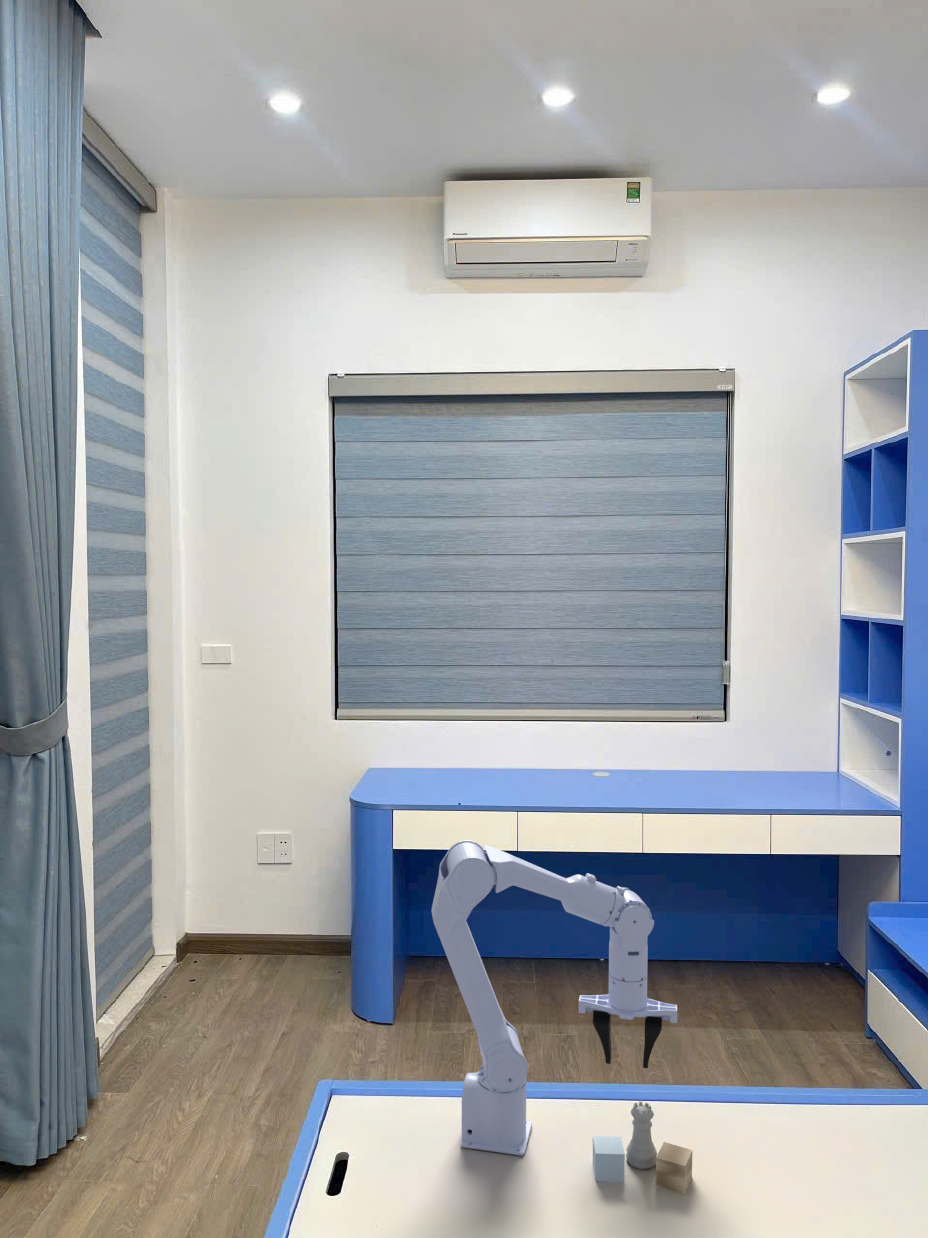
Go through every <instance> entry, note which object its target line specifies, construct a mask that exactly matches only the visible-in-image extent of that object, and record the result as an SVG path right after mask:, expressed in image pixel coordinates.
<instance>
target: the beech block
mask: <svg viewBox="0 0 928 1238" xmlns="http://www.w3.org/2000/svg"><path fill="white" fill-rule="evenodd" d="M692 1178H693V1149H691V1148H690V1149H689V1148H687V1147H684V1146H681V1145H676V1144H673V1143H670V1142H666V1141H663V1143H662V1145H661V1147H660V1148H659V1151H658V1152H657V1157H656V1164H655V1186H657V1187H659V1188H663V1189H666V1190H670V1191H672V1192H674V1193H675V1192H676V1193H679V1194H682V1195H686V1192H687V1190H688V1188H689V1186H690V1183H691V1181H692Z"/></svg>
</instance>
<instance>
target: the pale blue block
mask: <svg viewBox="0 0 928 1238" xmlns="http://www.w3.org/2000/svg"><path fill="white" fill-rule="evenodd" d="M625 1159H626V1154H625V1148H624V1144H623V1140H622V1136H616V1135H615V1136H613V1135H611V1136H610V1135H608V1136H607V1135H592V1169H593V1174H594V1175H593V1176H594V1180H595V1182H614V1183H615V1182H616V1183H617V1182H621V1183H624V1182H625V1172H626V1171H625V1168H626V1167H625V1165H626V1164H625Z"/></svg>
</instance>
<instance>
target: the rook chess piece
mask: <svg viewBox="0 0 928 1238" xmlns="http://www.w3.org/2000/svg"><path fill="white" fill-rule="evenodd" d="M632 1106H633V1107H632V1108H631V1110H630V1115H631V1116H632V1117H633V1120H632V1122H631V1123H632V1127H633V1130H632V1134H631V1135H632V1137H631V1139H630V1140H629V1143H628V1144H627V1147H626V1154H625V1159H626V1160H627V1162H628V1163H629V1164H630V1165H631V1166H632V1167H633V1168H635V1169H638V1170H649V1169H650V1170H651V1169H652V1168H653V1167H655V1166H656V1157H657V1155H658V1152H657V1148H656V1146H655V1144H654V1142H653V1140H652V1139H653V1138H652V1132H651V1131H652V1129H651V1128H652V1126H653V1124H652V1119H653V1118H654V1116H655V1114H654V1111H653V1110H652V1106H651V1105H650V1103H648V1102H645V1103H644V1104H643V1101H638V1103H637V1102H634V1104H633V1105H632Z"/></svg>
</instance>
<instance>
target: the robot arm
mask: <svg viewBox="0 0 928 1238" xmlns="http://www.w3.org/2000/svg"><path fill="white" fill-rule="evenodd" d="M483 847H484V848H483ZM444 855H445V856H444V857H443V858H442V860H441V861H440V863H439V868H438V869H439V870H438V877H437V882H436V887H435V892H434V896H433V901H432V904H431V916H432V921H433V924H434V927H435V929H436V932H437V935H438V937H439V939H440V942H441V945H442V947H443V949H444V953H445V955H446V958H447V961H448V963H449V965H450V968H451V971H452V973H453V977H454V978H455V981H456V983H457V986H458V989H459V992H460V993H461V996H462V999H463V1001H464V1003H465V1005H466V1009H467V1012H468V1014H469V1017H470V1019H471V1022H472V1024H473V1027H474V1029H475V1032H476V1036H477V1038H478V1039H477V1044H478V1049H479V1052H480V1055H481V1059H482V1064H481V1065H480V1068H479V1070H478V1071H477V1072H467V1073H466V1075H465V1077H464V1081H463V1085H462V1095H461V1140H460V1147H461V1148H466V1149H473V1150H479V1151H480V1150H481V1151H487V1152H494V1153H500V1154H501V1153H502V1154H507V1155H514V1156H515V1155H516V1156H524V1155H526V1150H527V1146H528V1142H529V1140H530V1139H529V1138H530V1134H531V1130H532V1128H533V1127H532V1126H533V1123H532V1121H530V1120H527V1077H528V1073H529V1064H528V1061H527V1059H526V1058H525V1055H524V1053H523V1049H522V1046H521V1044H520V1039H519V1033H518V1031H517V1029H516V1028H515V1026H513V1024H511V1023H510V1022H509V1021H508V1020H507V1019H506V1016H505V1015H504V1013H503V1010H502V1008H501V1006H500V1004H499V1002H498V1001H499V1000H498V998H497V996H496V993H495V990H494V989H493V986H492V983H491V981H490V978H489V975H488V973H487V971H486V968H485V965H484V963H483V962H484V961H483V959H482V957H481V955H480V952H479V951H478V948H477V945H476V942H475V939H474V937H473V935H472V931H471V929H470V927H469V925H468V922H467V919H468V918H469V916H470V914H471V912H472V911H473V909H474V908H475V907H476V906H477V905H478V904H479V903H481V901H483V900H484V899H485V898H486V897H487V895H489V893H490V892H491V891H492V889H494V891H495V893H496V894H498V893H500V892H502V891H504V890H506V889H508V888H510V887H512V886H515V887H518V888H520V889H524V890H527V891H530V892H533V893H536V894H539V895H543V896H545V897H547V898H548V897H549V898H552V899H555V900H558V901H560V902H561V905H562V907H563V910H564V911H565V912H566V913H568V914H571V915H574V916H577V917H579V918H582V919H585V920H587V921H590V922H593V923H595V924H598V925H600V926H603V927H609V942H608V943H609V944H608V994H596V995H585V994H583V995H582V994H580V995H579V998H578V1014H587V1013H592V1024H593V1027H594V1029H595V1031H596V1033H597V1035H598V1037H599V1040H600V1042H601V1045H602V1046H601V1047H602V1049H603V1052H604V1053H603V1054H604V1058H605V1064H607V1065H611V1062H612V1038H611V1030H612V1029H611V1025H612V1022H611V1021H612V1015H613V1016H618V1017H619V1019H621V1020H630V1021H631V1020H632V1021H633V1020H634V1019H635V1018H643V1019H644V1046H643V1047H644V1048H643V1057H642V1059H643V1060H642V1069H648V1068H649V1060H650V1057H651V1054H652V1052H653V1049H654V1046H655V1043H656V1041H657V1039H658V1038H659V1036H660V1034H661V1032H662V1029H663V1028H662V1027H663V1021H668V1022H669V1023H670V1024H671V1023H672V1024H677V1023H678V1004H671V1003H667V1002H662V1001H659V1000H655V999H652V998H649V997H648V965H649V964H648V954H649V952H648V951H649V950H648V949H649V946H648V936H649V935H650V934H651V932H652V930H653V929H654V926H655V920H654V919H653V916H652V913H651V910H650V908H649V907H648V906H647V904H646V903H645V902H644V901H643V900H642V898H641V897H640V896H639V895H638V894H637V893H636V892H634V891H633V890H630V888H629V887H622V886H619V885H617V886H616V887H613V886H611V885H608V884H605V883H603V882H600V881H597V878H596V876H595V875H594V874H591V873H586V874H585V876H584V875H582V874H574V875H572V876H569V877H564V876H561V875H559V874H557V873H554V872H552V871H549V870H547V869H545V868H543V867H540V866H538V865H536V864H533V863H531V862H528V861H526V860H524V859H522V858H520V857H517V856H514V855H512V854H511V853H508V852H505V851H504V850H500V849H498V848H496V847H495V846H494V847H493V846H491V845H486V844H483V846H482V845H481V844H479V843H478V842H476V841H474V840H471V839H470V840H469V839H464V840H459V841H457V842H455V843H454V844H453V845H452V846H451V847H450V848H449V849H448V850H447V851H446V854H444Z"/></svg>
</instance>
